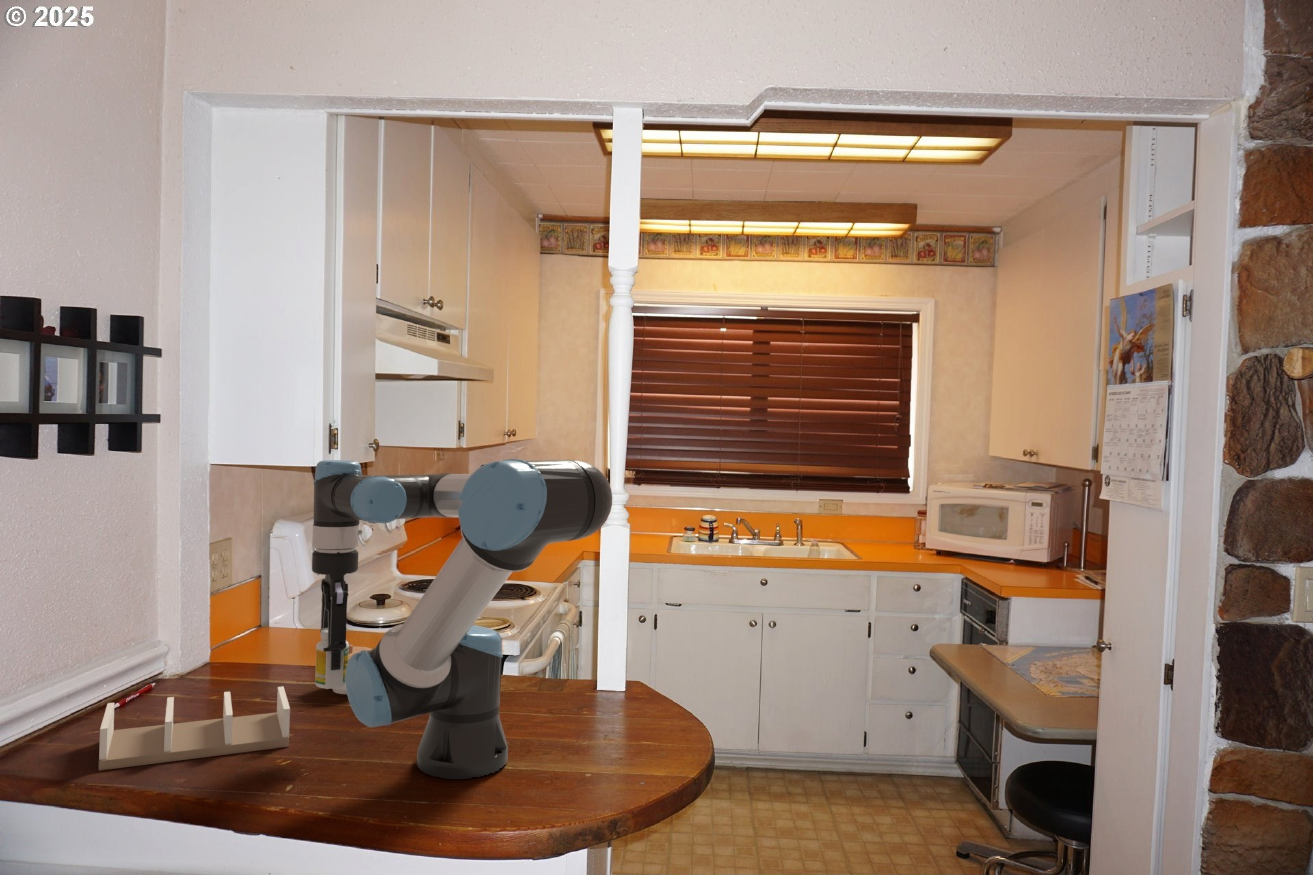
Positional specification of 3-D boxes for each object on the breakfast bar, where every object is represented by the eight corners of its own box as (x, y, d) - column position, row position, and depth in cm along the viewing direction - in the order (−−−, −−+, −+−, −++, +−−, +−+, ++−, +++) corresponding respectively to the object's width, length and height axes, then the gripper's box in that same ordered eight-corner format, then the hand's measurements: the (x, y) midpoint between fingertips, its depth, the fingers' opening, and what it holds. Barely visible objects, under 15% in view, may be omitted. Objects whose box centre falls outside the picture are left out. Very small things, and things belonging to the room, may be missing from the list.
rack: (288, 746, 151) (290, 709, 151) (98, 770, 138) (99, 729, 138) (282, 719, 163) (283, 685, 163) (106, 739, 150) (107, 702, 150)
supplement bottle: (315, 680, 152) (316, 626, 152) (347, 678, 154) (349, 625, 154) (314, 690, 147) (316, 633, 147) (347, 687, 149) (349, 632, 149)
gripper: (367, 556, 144) (362, 695, 144) (350, 541, 160) (346, 666, 160) (319, 558, 140) (314, 700, 141) (306, 542, 156) (302, 670, 157)
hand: (331, 682), depth 150 cm, fingers closed on supplement bottle, 5 cm apart
